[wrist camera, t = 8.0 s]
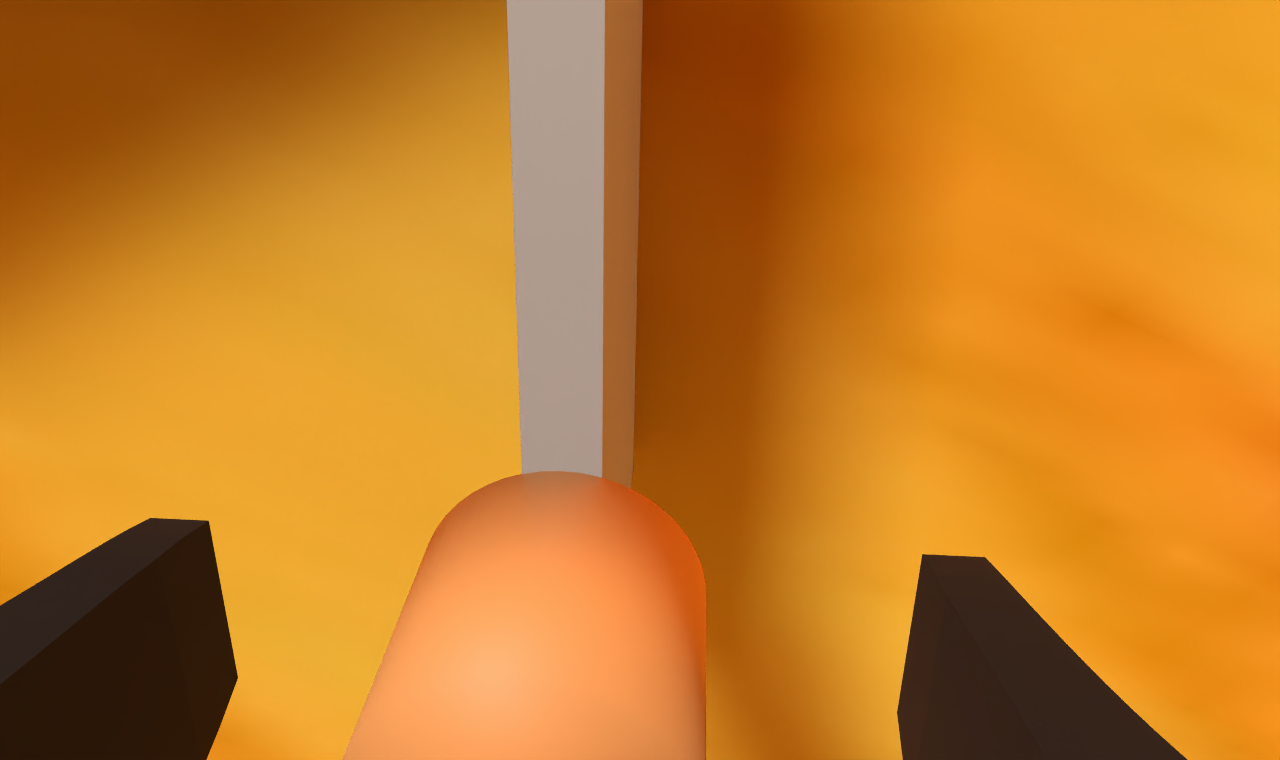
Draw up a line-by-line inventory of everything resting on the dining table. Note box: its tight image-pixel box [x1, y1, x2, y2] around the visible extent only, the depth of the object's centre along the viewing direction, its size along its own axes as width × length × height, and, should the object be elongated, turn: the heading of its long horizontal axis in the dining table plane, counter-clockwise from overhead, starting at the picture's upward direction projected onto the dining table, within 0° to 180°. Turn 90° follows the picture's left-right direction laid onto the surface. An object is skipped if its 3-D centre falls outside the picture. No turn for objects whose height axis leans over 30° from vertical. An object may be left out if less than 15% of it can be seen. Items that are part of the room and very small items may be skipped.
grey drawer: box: [342, 0, 706, 760], centre depth 10 cm, size 15×3×9 cm, turn 179°
